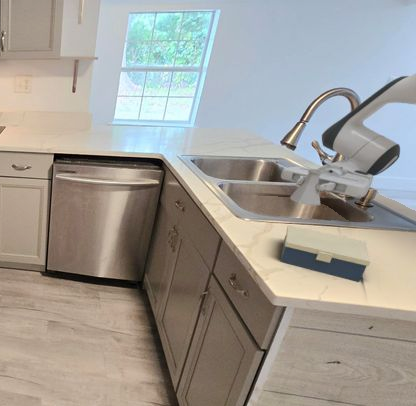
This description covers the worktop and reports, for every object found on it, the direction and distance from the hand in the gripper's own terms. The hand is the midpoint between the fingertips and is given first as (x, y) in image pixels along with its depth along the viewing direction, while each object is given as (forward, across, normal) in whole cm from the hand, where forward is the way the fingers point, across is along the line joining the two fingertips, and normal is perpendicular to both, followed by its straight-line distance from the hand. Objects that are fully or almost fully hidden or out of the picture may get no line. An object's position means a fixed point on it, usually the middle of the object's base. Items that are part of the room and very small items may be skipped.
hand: (309, 185), depth 108 cm
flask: (-1, 0, +6) cm, 6 cm away
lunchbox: (+25, +16, +10) cm, 31 cm away
